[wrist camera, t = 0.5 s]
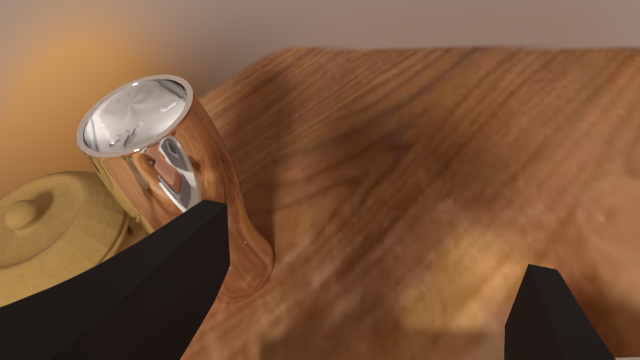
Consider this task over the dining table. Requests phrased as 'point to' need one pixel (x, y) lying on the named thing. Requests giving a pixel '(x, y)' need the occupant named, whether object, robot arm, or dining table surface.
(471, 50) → the dining table surface
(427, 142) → the dining table surface
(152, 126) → the beer glass
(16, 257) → the pot
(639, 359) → the button panel
